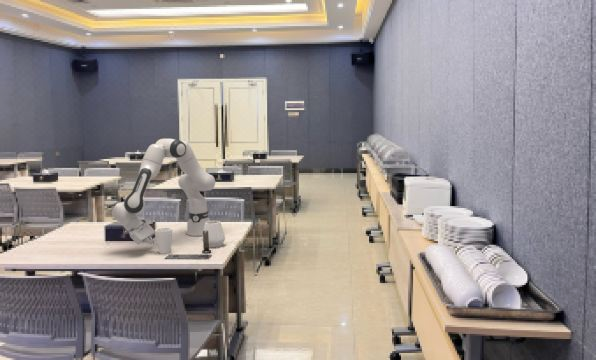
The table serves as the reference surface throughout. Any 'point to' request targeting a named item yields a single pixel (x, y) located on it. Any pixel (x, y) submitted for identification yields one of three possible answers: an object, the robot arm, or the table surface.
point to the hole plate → (187, 256)
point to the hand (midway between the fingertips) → (153, 243)
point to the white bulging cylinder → (214, 233)
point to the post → (206, 243)
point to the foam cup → (164, 240)
